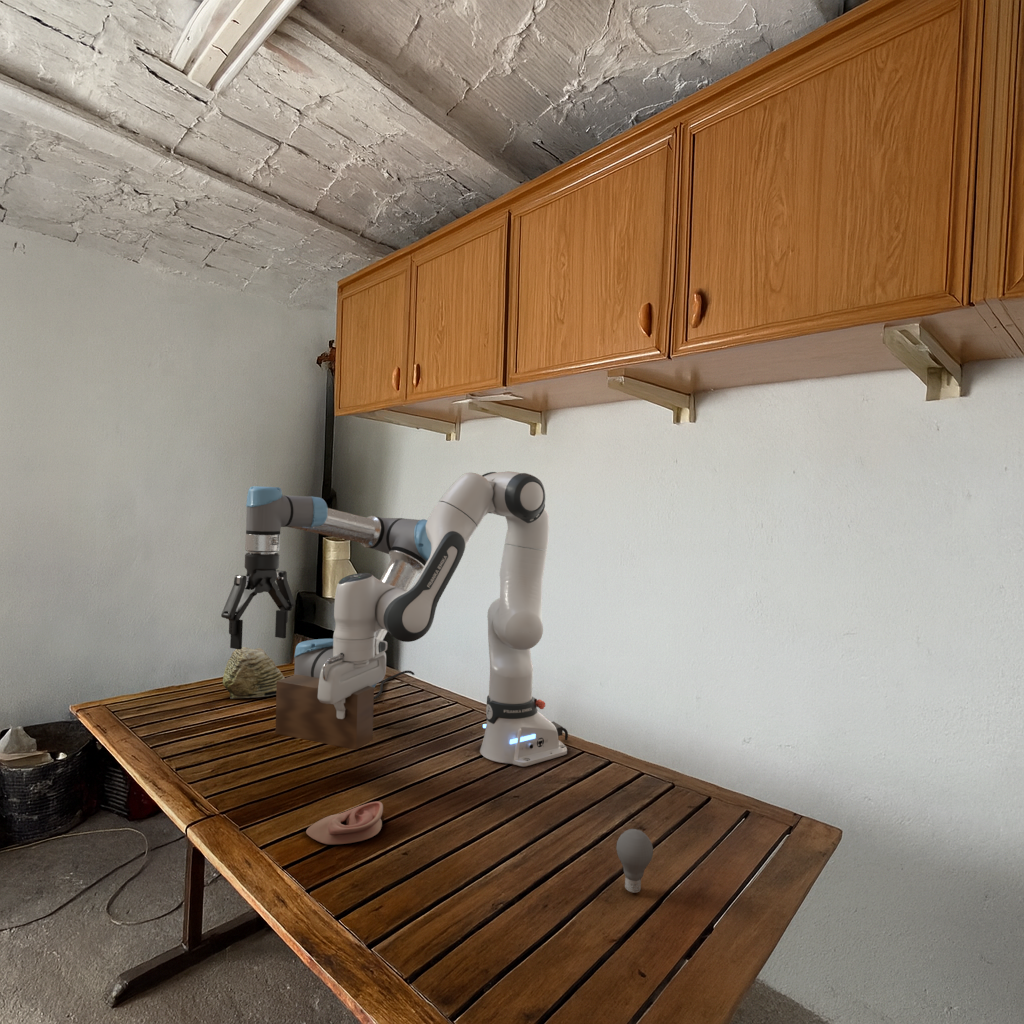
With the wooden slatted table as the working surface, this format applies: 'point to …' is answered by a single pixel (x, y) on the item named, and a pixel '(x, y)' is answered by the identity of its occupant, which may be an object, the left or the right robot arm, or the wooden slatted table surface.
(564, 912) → the wooden slatted table surface
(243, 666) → the fossil
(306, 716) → the box
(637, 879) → the light bulb
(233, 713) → the wooden slatted table surface
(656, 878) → the wooden slatted table surface
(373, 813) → the anatomical model
